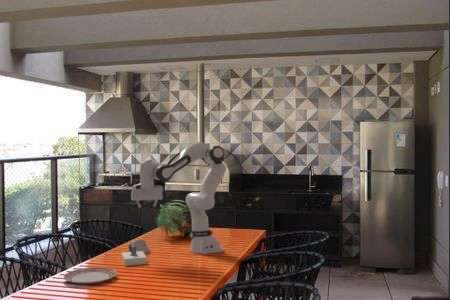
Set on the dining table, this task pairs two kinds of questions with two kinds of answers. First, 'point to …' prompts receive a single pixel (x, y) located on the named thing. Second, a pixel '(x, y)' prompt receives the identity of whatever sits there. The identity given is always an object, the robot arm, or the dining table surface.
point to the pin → (133, 251)
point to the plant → (174, 220)
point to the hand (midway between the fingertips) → (147, 207)
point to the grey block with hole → (134, 258)
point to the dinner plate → (90, 275)
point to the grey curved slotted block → (139, 246)
